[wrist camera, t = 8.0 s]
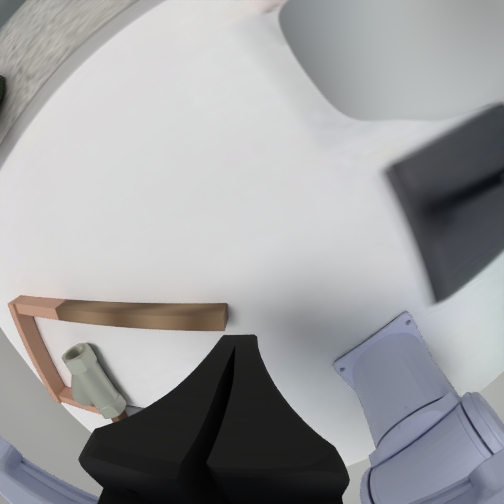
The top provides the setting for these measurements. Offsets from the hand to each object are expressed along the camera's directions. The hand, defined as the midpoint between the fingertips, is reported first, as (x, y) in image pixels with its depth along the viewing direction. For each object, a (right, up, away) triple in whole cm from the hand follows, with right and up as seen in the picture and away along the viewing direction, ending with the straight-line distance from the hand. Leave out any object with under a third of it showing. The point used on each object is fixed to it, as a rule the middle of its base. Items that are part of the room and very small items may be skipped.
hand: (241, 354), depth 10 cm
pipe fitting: (-17, -9, +14) cm, 24 cm away
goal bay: (-20, -7, +13) cm, 25 cm away
